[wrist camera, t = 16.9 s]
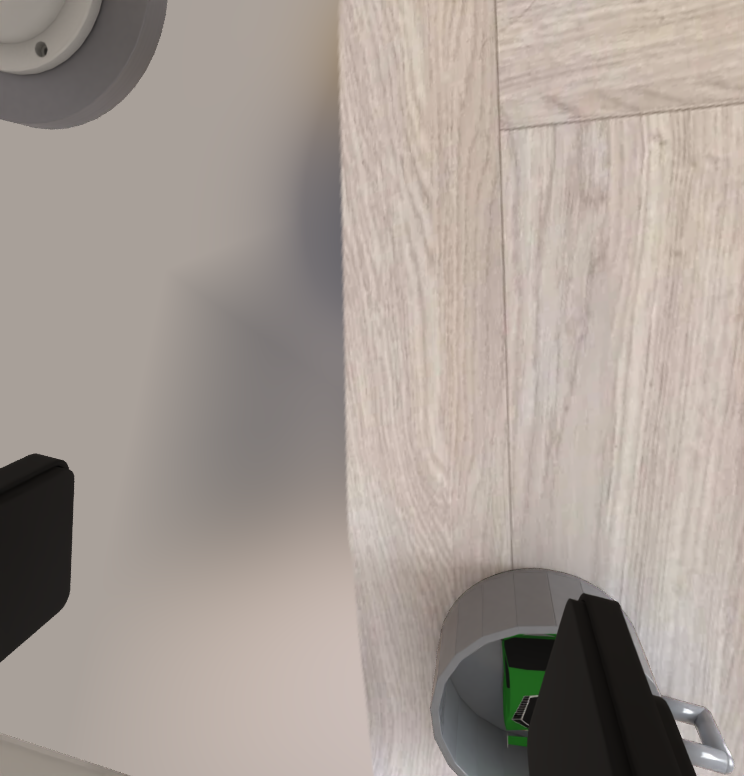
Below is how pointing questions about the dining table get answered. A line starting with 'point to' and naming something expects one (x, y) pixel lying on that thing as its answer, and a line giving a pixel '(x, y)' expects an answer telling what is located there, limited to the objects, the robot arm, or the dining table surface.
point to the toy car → (523, 679)
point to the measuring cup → (485, 668)
